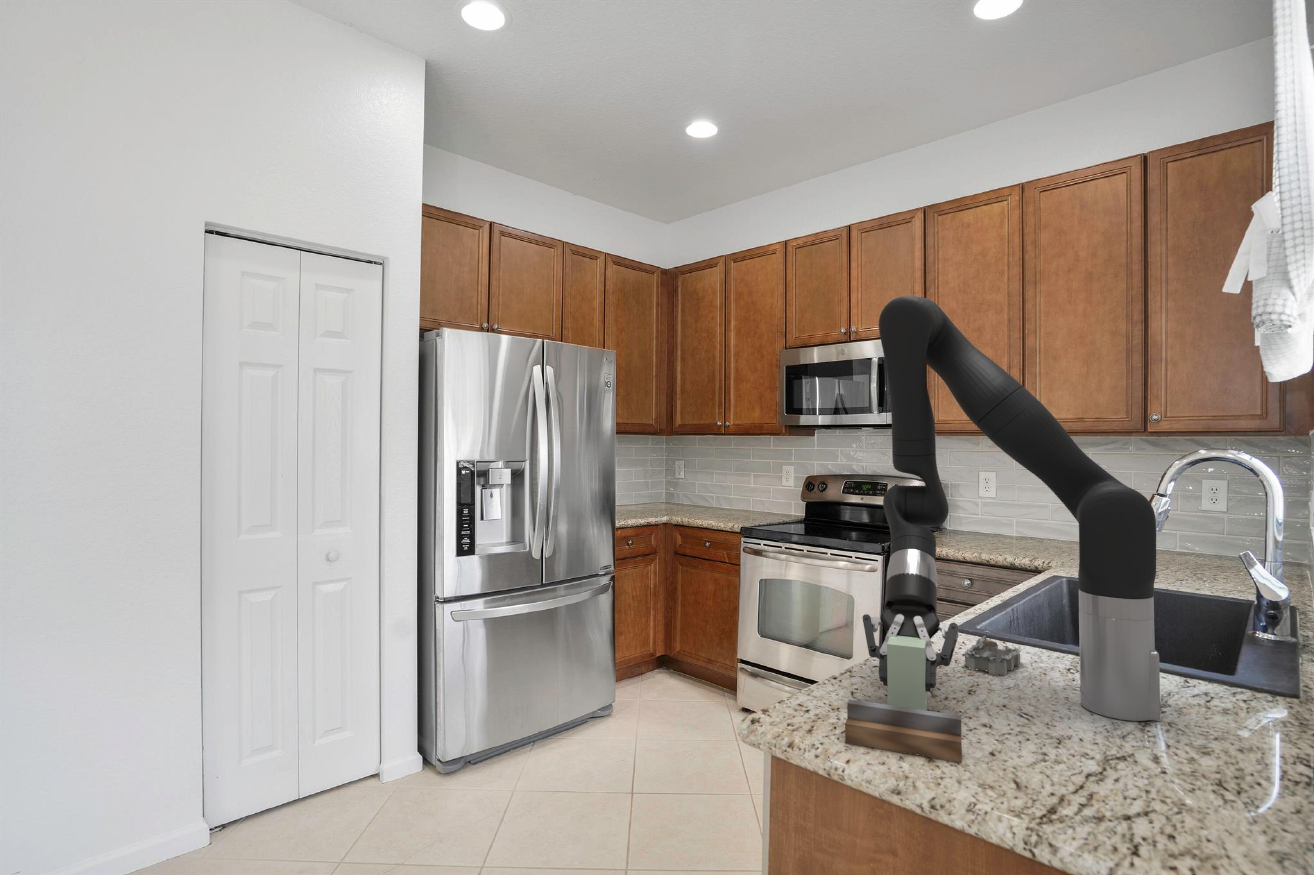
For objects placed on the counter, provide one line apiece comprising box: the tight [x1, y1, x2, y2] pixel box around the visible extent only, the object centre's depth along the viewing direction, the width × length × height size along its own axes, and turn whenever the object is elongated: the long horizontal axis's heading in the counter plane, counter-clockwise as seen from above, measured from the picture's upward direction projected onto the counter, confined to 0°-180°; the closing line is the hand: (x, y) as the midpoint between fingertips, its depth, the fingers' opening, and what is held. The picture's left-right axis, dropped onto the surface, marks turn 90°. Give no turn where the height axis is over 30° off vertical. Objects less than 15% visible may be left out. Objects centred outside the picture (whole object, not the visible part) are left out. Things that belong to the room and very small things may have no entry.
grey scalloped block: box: [961, 635, 1023, 676], centre depth 119 cm, size 11×8×4 cm
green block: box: [886, 636, 928, 711], centre depth 97 cm, size 5×5×10 cm
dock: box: [844, 698, 963, 763], centre depth 90 cm, size 14×10×4 cm
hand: (906, 685), depth 95 cm, fingers closed on green block, 5 cm apart
